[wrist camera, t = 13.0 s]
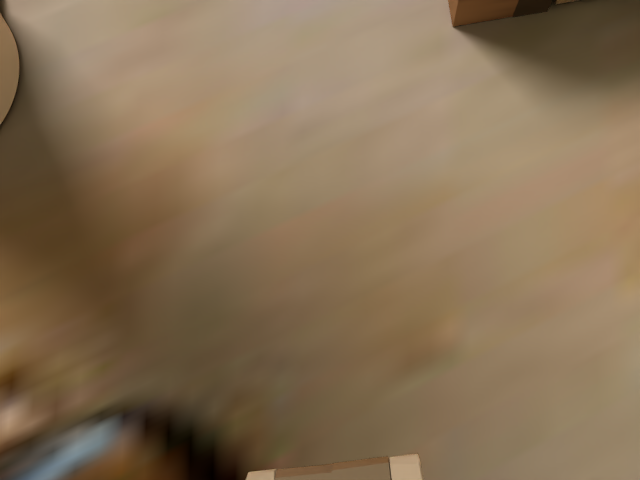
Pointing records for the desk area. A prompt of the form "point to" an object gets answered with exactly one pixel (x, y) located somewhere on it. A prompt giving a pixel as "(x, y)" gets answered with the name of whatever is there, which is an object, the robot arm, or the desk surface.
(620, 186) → the desk surface
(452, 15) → the housing
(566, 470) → the desk surface
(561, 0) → the elongated beige block
